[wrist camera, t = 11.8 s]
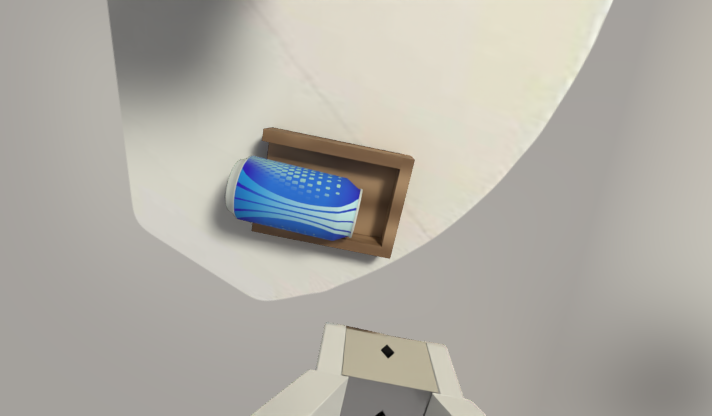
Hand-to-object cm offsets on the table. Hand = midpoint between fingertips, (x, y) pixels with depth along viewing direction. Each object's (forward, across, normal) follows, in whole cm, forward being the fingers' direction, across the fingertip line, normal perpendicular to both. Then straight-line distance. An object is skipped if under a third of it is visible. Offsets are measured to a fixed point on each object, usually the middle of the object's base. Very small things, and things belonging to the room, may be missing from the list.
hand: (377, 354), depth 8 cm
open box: (+39, +5, +6) cm, 40 cm away
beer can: (+34, +16, +7) cm, 39 cm away
